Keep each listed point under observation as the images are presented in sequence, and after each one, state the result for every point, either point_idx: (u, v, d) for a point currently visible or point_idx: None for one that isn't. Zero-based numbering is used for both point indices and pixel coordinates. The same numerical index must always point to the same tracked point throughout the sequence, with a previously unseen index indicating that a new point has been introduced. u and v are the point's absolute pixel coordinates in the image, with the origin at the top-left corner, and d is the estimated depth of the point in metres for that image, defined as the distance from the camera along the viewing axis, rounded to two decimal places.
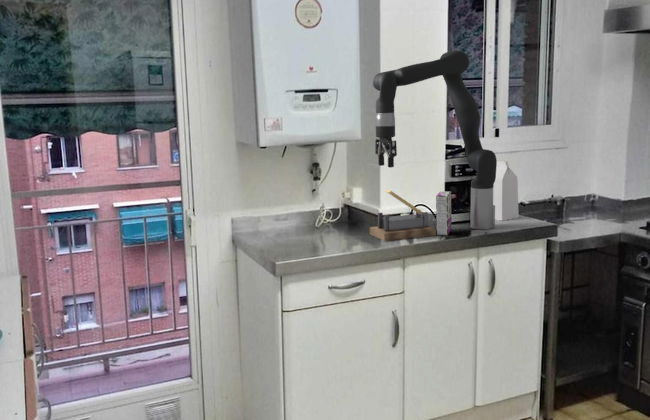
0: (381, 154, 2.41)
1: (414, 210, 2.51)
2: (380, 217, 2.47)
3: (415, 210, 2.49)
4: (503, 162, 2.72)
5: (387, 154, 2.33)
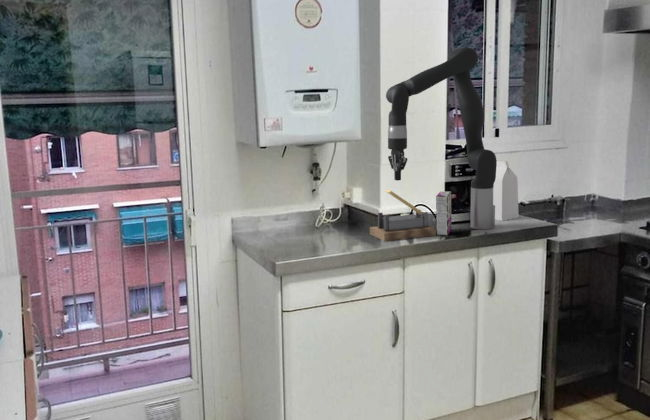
0: None
1: (414, 210, 2.51)
2: (380, 217, 2.47)
3: (415, 210, 2.49)
4: (503, 162, 2.72)
5: (395, 167, 2.42)
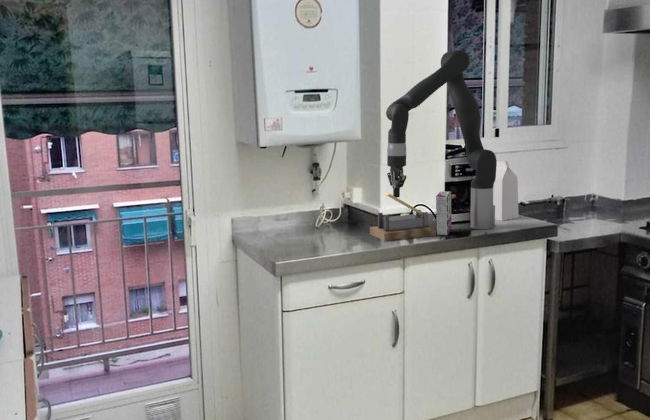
0: None
1: (414, 210, 2.51)
2: (380, 217, 2.47)
3: (415, 211, 2.49)
4: (503, 162, 2.72)
5: (394, 184, 2.43)
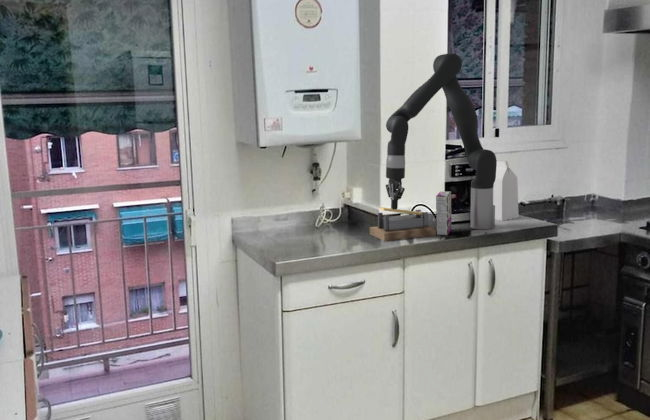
0: None
1: None
2: (380, 217, 2.47)
3: None
4: (503, 162, 2.72)
5: (392, 196, 2.44)
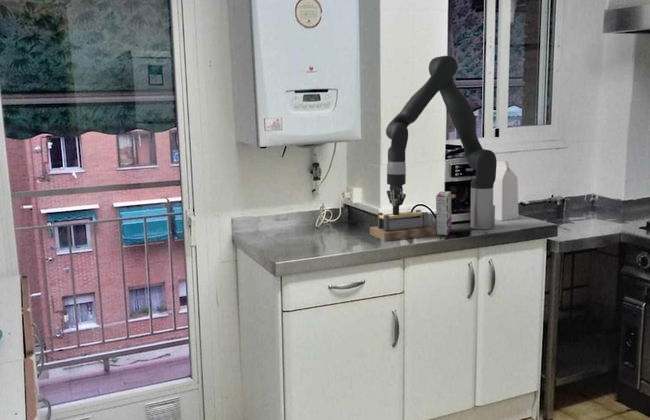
0: None
1: None
2: None
3: None
4: (503, 162, 2.72)
5: (394, 202, 2.44)
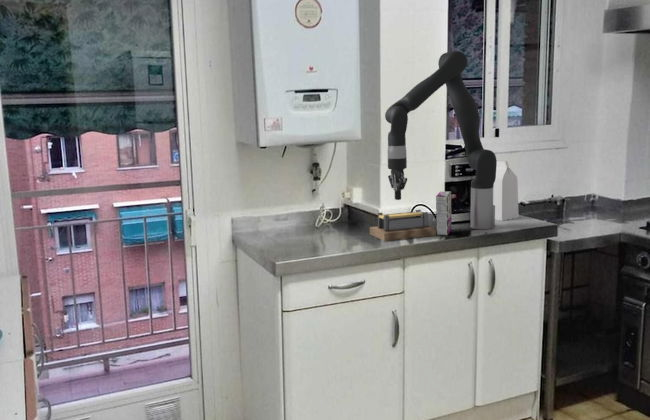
0: None
1: None
2: None
3: None
4: (503, 162, 2.72)
5: (395, 187, 2.43)
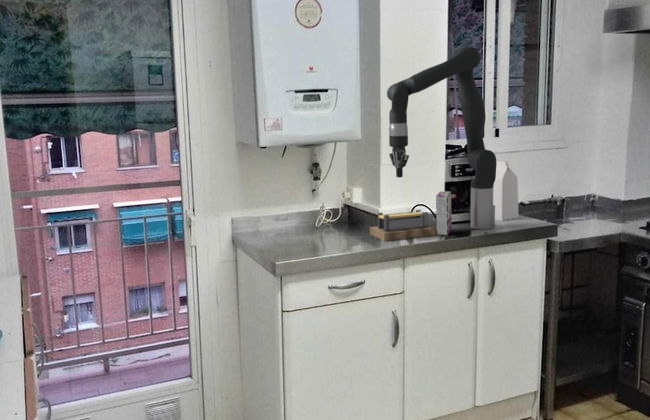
0: None
1: None
2: None
3: None
4: (503, 162, 2.72)
5: (397, 164, 2.45)
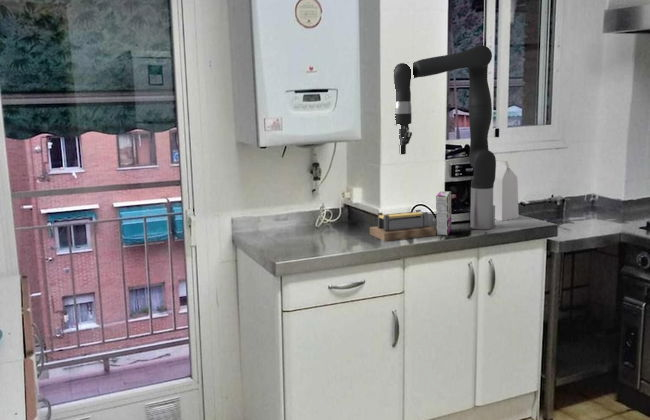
0: None
1: None
2: None
3: None
4: (503, 162, 2.72)
5: (400, 141, 2.53)
